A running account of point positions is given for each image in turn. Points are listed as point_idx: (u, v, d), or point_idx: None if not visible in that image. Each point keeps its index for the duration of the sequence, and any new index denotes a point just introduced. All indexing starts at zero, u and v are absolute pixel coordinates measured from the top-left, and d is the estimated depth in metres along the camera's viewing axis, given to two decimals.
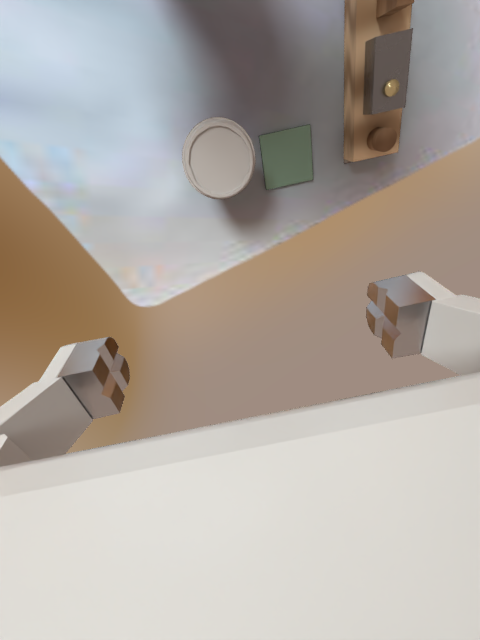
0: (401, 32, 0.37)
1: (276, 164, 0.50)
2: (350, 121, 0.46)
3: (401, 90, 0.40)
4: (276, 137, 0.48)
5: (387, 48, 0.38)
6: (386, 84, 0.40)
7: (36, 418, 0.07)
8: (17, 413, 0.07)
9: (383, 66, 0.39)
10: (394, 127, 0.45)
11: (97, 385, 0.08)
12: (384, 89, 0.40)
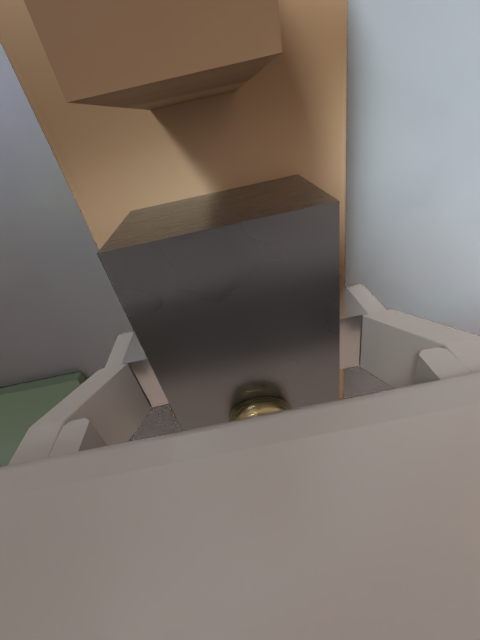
0: (266, 225, 0.06)
1: None
2: None
3: None
4: None
5: (197, 297, 0.06)
6: None
7: (106, 404, 0.07)
8: (91, 398, 0.07)
9: (203, 361, 0.07)
10: None
11: None
12: None
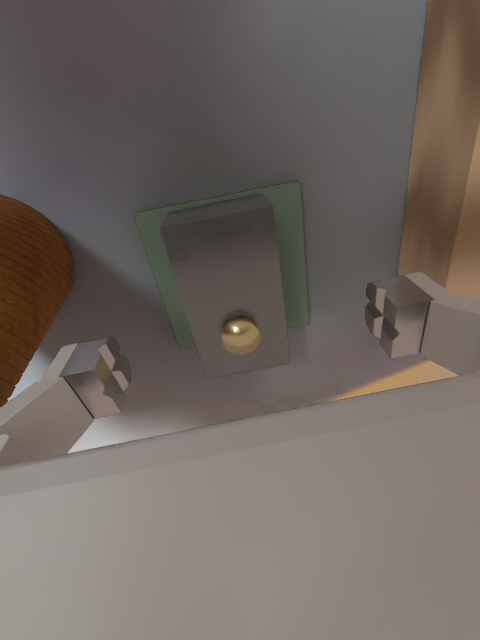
0: (239, 216, 0.12)
1: None
2: (445, 179, 0.13)
3: (272, 335, 0.15)
4: None
5: (205, 252, 0.13)
6: (223, 333, 0.14)
7: (37, 418, 0.07)
8: (19, 413, 0.07)
9: (207, 291, 0.13)
10: None
11: (99, 384, 0.08)
12: (222, 338, 0.14)
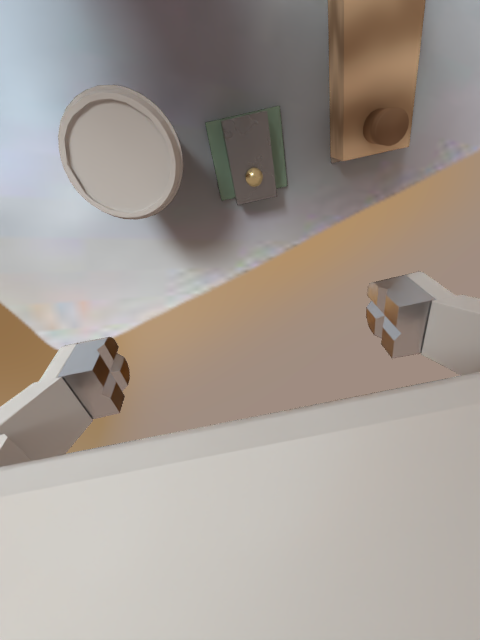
0: (253, 115, 0.30)
1: None
2: (338, 99, 0.30)
3: (268, 178, 0.33)
4: None
5: (239, 133, 0.30)
6: (246, 174, 0.32)
7: (36, 418, 0.07)
8: (17, 413, 0.07)
9: (239, 153, 0.31)
10: (404, 109, 0.30)
11: (97, 385, 0.08)
12: (245, 178, 0.33)
